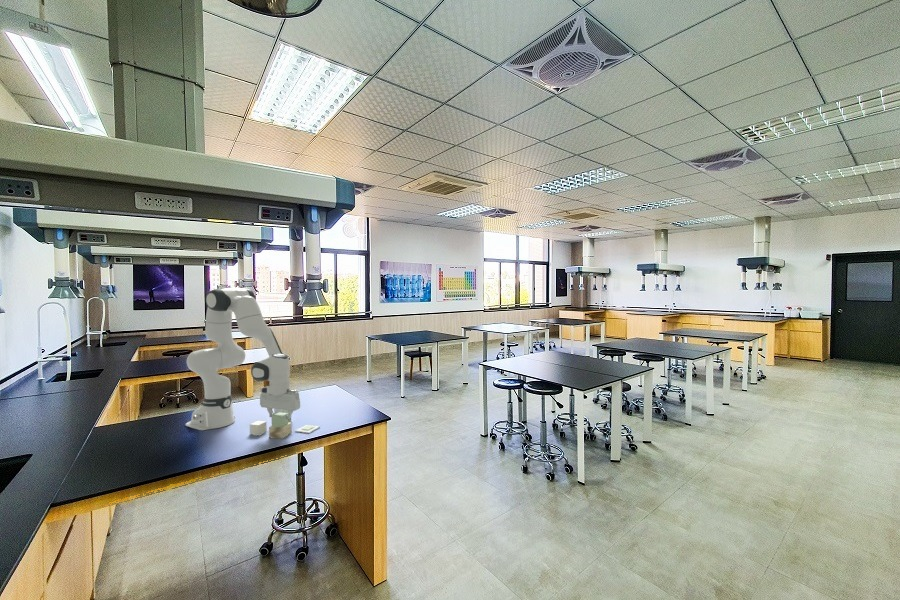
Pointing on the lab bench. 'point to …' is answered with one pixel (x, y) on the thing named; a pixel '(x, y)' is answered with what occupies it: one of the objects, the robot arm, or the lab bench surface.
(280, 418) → the sage block
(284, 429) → the birch base block
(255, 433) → the off-white block
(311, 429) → the tile
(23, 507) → the lab bench surface
